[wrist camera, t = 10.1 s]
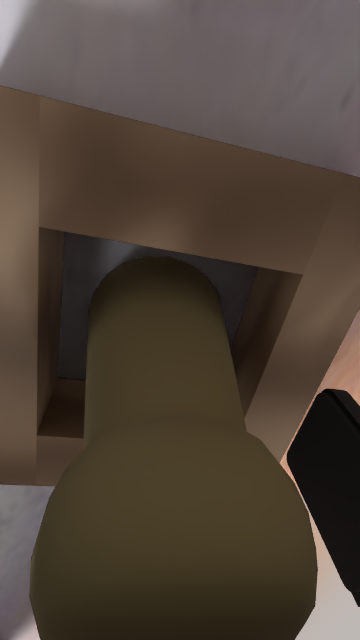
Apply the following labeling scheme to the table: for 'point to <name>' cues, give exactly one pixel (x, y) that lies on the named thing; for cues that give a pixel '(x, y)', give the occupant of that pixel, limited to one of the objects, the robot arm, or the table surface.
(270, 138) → the table surface
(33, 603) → the cork
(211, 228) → the socket block
